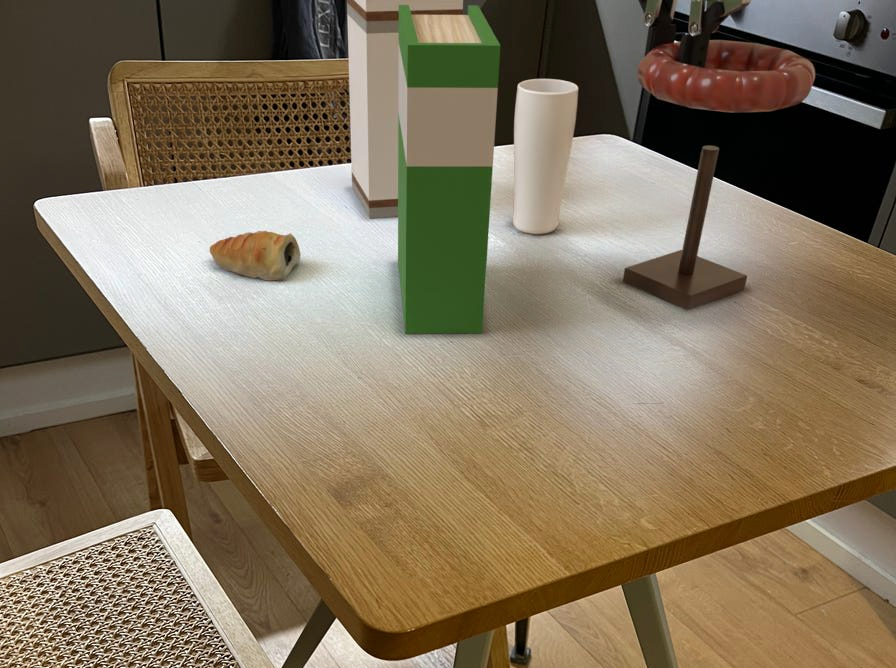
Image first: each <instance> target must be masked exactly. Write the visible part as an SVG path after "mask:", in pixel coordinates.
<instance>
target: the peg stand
mask: <svg viewBox="0 0 896 668" xmlns="http://www.w3.org/2000/svg"><path fill="white" fill-rule="evenodd" d="M719 152H720V148H719V146H715V145H703V146H702V147H701V152H700V158H699V162H698V168H697V172H696V176H695V184H694V188H693V192H692V198H691V204H690V208H689V214H688V218H687V223H686V228H685V234H684V239H683V244H682V249H679V250H676V251H674V252H670V253H667V254H663V255H661V256H658V257H654V258H652V259H648V260H645V261H642V262H639V263H635V264H632V265H630V266H627V267H624V272H623V279H622V283H625V284H627V285H629V286H632V287H634V288H637V289H638V290H641V291H643V292H645V293H648V294H650V295H651V296H655V297H656V298H659V299H662V300H664V301H666V302H668V303H671V304H673V305H675V306H678V307H680V308H682V309H684V310H687V311H689V310H692V309H695V308H697V307H700V306H703V305H706V304H709V303H711V302H714V301H717V300H719V299H722V298H725V297H727V296H730V295H733V294H736V293H738V292H741V291H743V290H745V287H746V283H747V279H748V274H745V273H742V272H740V271H737V270H734V269H732V268H730V267H728V266H724V265H722V264H719V263H716V262H715V261H712V260H709V259H706V258H704V257H701V256H698V254H699V247H700V244H701V240H702V235H703V229H704V224H705V220H706V215H707V210H708V206H709V201H710V196H711V191H712V186H713V180H714V177H715V172H716V167H717V161H718V157H719Z"/></svg>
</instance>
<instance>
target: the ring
mask: <svg viewBox="0 0 896 668" xmlns="http://www.w3.org/2000/svg"><path fill="white" fill-rule="evenodd" d="M680 42H681V40H680V41H674V43H670V44H664V45H659V46H657V47H655V48H653V49H652V50H651V51H650V52H649V53H648V54H647V55H646V56H645V55H644V56H645V57H644V56H643V58H642V59H641V61H640V62H639V65H638V68H637V80H638V83H639V84H640V86H641V87H642V88H643V89H644V90H646V91H647V92H649V94H650V95H652V96H653V97H654V98H656V99H658V100H660V101H664V102H668V103H671V104H674V105H679V106H682V107H686V108H689V109H694V110H695V109H696V110H705V111H712V112H713V111H714V112H722V113H763V112H765V113H767V112H773V111H777V110H781V109H786V108H789V107H794V106H796V105H799V104H801V103H802V102H804V101H805V99H807V97H808V96H809V94H810V93H811V91H812V88H813V85H814V82H815V79H816V69H815V67H814V64H813V62H811V60H809V59H807V58H805V57H803V56H801V55H799V54H798V53H795V52H793V51H791V50H789V49H786V48H785V49H784V48H779V47H777V46H771V45H767V44H761V43H757V42H747V41H735V40H726V39H725V40H724V39H710V41H709V46H708V51H707V57H706V62H705V67H704V68H700V67H696V66H692V65H688V64H684V63H680V62H677V60H678V54H679V48H680Z"/></svg>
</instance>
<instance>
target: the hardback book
mask: <svg viewBox="0 0 896 668" xmlns="http://www.w3.org/2000/svg"><path fill="white" fill-rule="evenodd" d="M500 58H501V44H500V42H499V40H498V38H497V37H496V35H495V34H494V32H493V29H492V27H491V26H490V25H489V23H488V21H487V18H486V17H485V15H484V13H483V12H482V10H481V8H480V6H479V5H478V4H477V5H475V4H474V5H473V4H472V5H471V4H469V5H467V14H463V15H411V12H410V8H409V5H399V81H398V217H397V267H398V277H399V287H400V296H401V297H400V298H401V305H402V306H401V307H402V314H403V324H404V334H405V335H409V334H410V335H411V334H412V335H413V334H414V335H415V334H416V335H417V334H418V335H419V334H422V335H423V334H424V335H426V334H483V327H484V326H483V325H484V308H485V292H486V276H487V263H488V262H487V261H488V247H489V246H488V245H489V231H490V218H491V217H490V215H491V213H490V212H491V201H492V184H493V171H494V169H493V168H494V152H495V140H496V139H495V137H496V122H497V121H496V120H497V108H498V107H497V106H498V90H499V75H500V61H501V59H500Z"/></svg>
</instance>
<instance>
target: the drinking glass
mask: <svg viewBox="0 0 896 668" xmlns="http://www.w3.org/2000/svg"><path fill="white" fill-rule="evenodd" d="M578 100H579V86H578V85H577V84H576V83H574V82H572V81H567V80H563V79H555V78H533V79H527V80H526V79H525V80H523V81H521V82H519V83H518V84H517V88H516V95H515V105H514V106H515V107H514V118H513V215H512V224H513V227H514V228H515V229H516V230H518V231H520V232H522V233H525V234H530V235H531V234H532V235H545V234H548V233H552V232H553V231H555V230H556V229H557V227H558V225H559V219H560V211H561V204H562V198H563V192H564V187H565V182H566V177H567V172H568V166H569V160H570V157H571V151H572V145H573V141H574V134H575V129H576V123H577V122H576V121H577V112H578V102H579V101H578Z"/></svg>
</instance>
